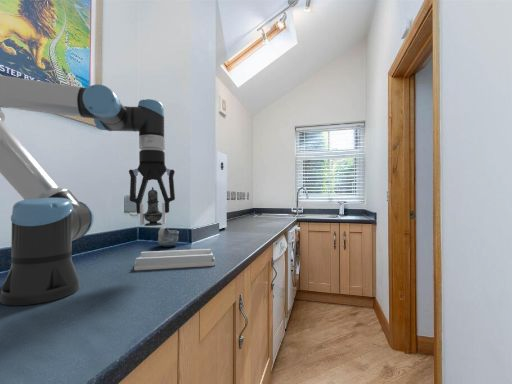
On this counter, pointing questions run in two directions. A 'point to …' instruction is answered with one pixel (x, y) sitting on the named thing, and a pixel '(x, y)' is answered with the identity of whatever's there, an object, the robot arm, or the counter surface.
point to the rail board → (174, 259)
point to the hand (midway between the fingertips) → (153, 223)
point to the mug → (167, 237)
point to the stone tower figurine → (152, 209)
